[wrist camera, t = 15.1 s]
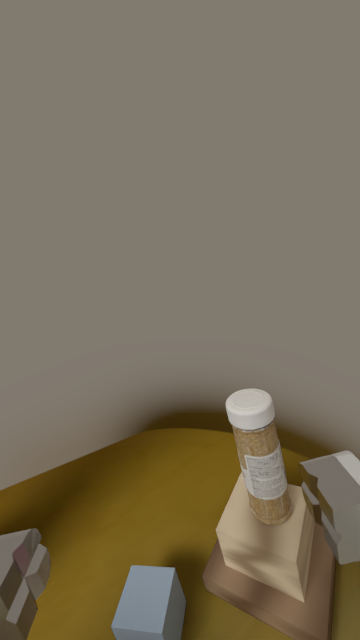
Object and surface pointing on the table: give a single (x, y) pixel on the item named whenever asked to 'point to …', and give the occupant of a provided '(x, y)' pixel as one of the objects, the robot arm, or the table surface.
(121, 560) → the table surface
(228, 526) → the block stand
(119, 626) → the block
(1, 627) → the robot arm
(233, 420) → the spice jar
